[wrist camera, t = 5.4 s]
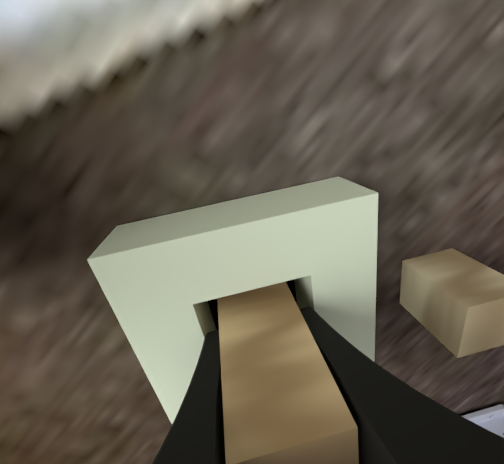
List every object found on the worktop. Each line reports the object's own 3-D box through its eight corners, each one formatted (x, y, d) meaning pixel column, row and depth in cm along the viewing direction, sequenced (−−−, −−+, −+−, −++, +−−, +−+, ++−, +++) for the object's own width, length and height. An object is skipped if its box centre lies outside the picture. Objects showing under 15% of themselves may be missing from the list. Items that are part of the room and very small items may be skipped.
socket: (338, 176, 12) (378, 192, 9) (345, 336, 16) (374, 381, 13) (116, 225, 11) (86, 259, 8) (183, 380, 15) (178, 436, 12)
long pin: (279, 268, 12) (357, 427, 6) (287, 317, 13) (359, 493, 7) (216, 283, 12) (225, 466, 6) (230, 332, 13) (251, 527, 7)
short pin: (451, 248, 15) (533, 290, 11) (444, 290, 16) (516, 341, 12) (402, 260, 14) (468, 307, 11) (399, 302, 16) (457, 358, 12)
